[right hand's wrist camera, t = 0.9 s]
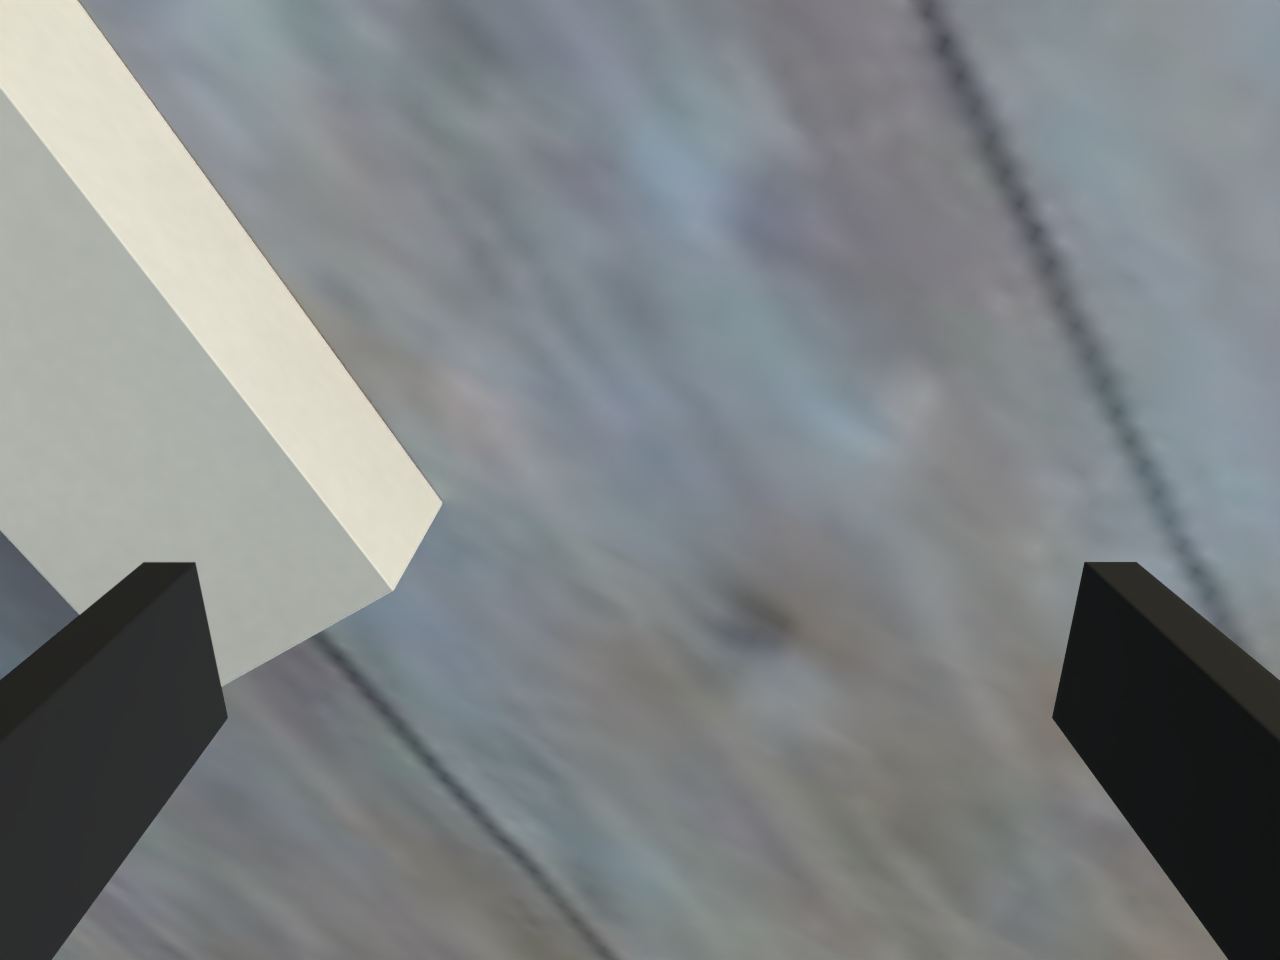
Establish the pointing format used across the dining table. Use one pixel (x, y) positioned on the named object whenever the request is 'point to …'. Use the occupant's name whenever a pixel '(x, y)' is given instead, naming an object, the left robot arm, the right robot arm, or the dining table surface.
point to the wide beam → (170, 372)
